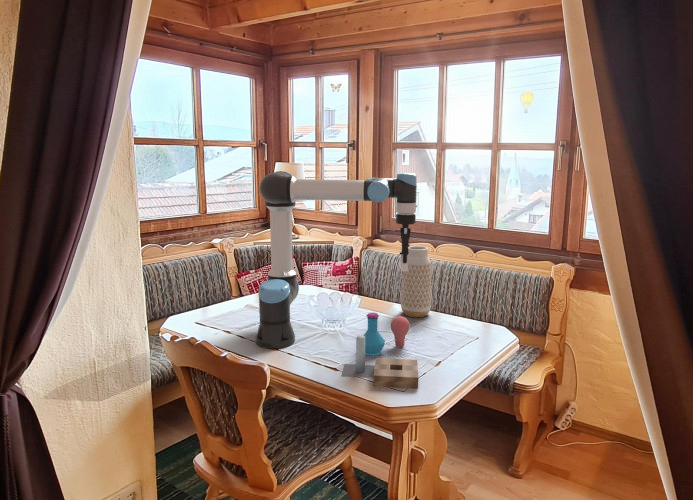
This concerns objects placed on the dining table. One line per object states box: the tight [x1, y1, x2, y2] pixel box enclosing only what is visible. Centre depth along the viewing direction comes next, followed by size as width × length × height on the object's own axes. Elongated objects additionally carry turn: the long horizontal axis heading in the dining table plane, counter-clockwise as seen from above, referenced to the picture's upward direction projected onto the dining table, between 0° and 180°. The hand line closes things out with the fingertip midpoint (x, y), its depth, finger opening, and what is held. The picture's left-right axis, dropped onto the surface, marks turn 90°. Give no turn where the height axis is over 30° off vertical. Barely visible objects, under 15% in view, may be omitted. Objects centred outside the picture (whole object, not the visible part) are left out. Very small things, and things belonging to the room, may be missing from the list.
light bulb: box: [390, 315, 411, 348], centre depth 200 cm, size 7×7×12 cm
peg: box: [355, 335, 366, 373], centre depth 178 cm, size 3×3×12 cm
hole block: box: [373, 357, 419, 389], centre depth 174 cm, size 14×14×4 cm
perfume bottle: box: [362, 312, 386, 356], centre depth 194 cm, size 9×9×15 cm
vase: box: [400, 245, 432, 318], centre depth 236 cm, size 14×14×31 cm
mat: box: [340, 363, 375, 379], centre depth 179 cm, size 12×10×1 cm
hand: (404, 267), depth 208 cm, fingers open, 13 cm apart
